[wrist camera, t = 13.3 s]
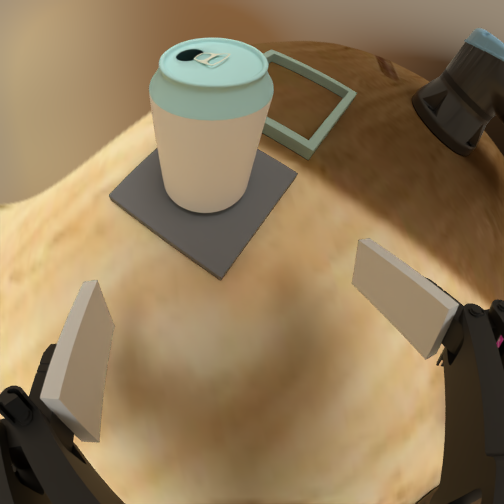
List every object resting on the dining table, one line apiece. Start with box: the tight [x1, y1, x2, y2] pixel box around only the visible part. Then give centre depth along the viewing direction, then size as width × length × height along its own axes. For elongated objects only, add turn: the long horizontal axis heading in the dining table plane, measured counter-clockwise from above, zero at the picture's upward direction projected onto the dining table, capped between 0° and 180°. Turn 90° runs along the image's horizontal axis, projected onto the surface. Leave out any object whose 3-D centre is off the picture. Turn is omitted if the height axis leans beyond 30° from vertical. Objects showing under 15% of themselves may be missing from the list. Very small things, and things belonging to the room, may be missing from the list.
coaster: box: [109, 148, 298, 280], centre depth 23 cm, size 12×12×1 cm
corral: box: [262, 50, 357, 160], centre depth 29 cm, size 16×14×2 cm
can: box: [149, 38, 274, 213], centre depth 17 cm, size 7×7×12 cm
